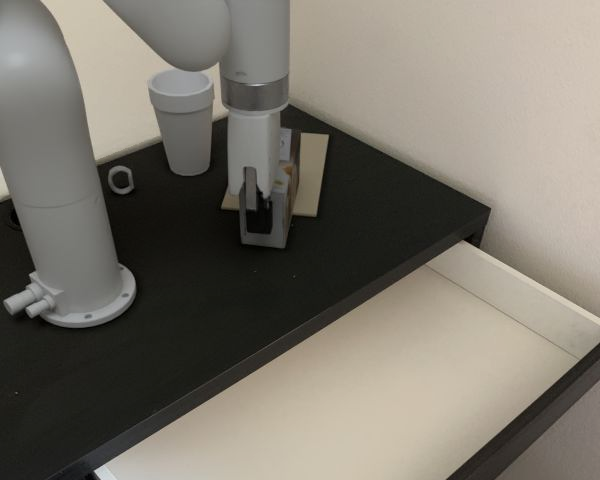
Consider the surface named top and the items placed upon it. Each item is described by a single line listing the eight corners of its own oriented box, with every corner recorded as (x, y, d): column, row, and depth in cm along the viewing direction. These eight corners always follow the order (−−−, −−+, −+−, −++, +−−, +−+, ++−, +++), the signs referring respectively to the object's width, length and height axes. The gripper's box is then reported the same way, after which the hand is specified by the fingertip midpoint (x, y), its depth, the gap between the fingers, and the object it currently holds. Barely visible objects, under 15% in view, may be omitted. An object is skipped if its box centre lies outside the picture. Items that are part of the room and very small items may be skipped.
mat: (316, 216, 96) (316, 214, 96) (221, 209, 97) (221, 206, 97) (328, 137, 112) (328, 134, 112) (247, 130, 113) (246, 128, 113)
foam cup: (209, 184, 101) (201, 99, 92) (151, 176, 102) (137, 92, 93) (225, 154, 107) (220, 71, 98) (171, 147, 109) (160, 64, 99)
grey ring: (111, 197, 98) (106, 172, 95) (109, 189, 100) (105, 164, 97) (135, 194, 99) (131, 169, 96) (134, 186, 100) (130, 162, 97)
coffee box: (287, 193, 84) (302, 126, 94) (237, 187, 84) (257, 122, 94) (285, 250, 91) (299, 183, 101) (239, 245, 92) (258, 178, 101)
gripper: (234, 56, 77) (241, 196, 91) (206, 116, 67) (219, 262, 81) (298, 61, 77) (295, 201, 90) (279, 122, 67) (280, 268, 81)
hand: (259, 230), depth 86 cm, fingers closed
